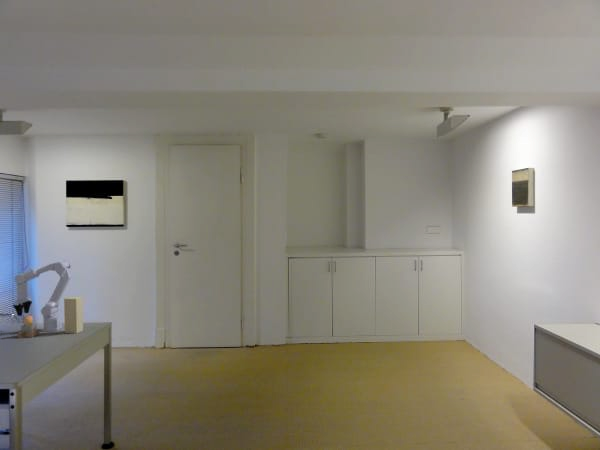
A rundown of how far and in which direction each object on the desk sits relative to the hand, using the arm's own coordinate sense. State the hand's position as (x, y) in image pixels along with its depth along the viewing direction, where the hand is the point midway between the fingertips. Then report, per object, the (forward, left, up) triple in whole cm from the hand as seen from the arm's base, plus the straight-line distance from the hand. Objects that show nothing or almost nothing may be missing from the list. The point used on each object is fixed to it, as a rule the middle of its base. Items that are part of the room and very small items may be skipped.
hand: (23, 314), depth 271 cm
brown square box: (-10, +13, -11) cm, 20 cm away
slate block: (-10, +13, -7) cm, 18 cm away
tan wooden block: (-34, +8, -11) cm, 37 cm away
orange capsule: (-10, +13, -4) cm, 17 cm away
